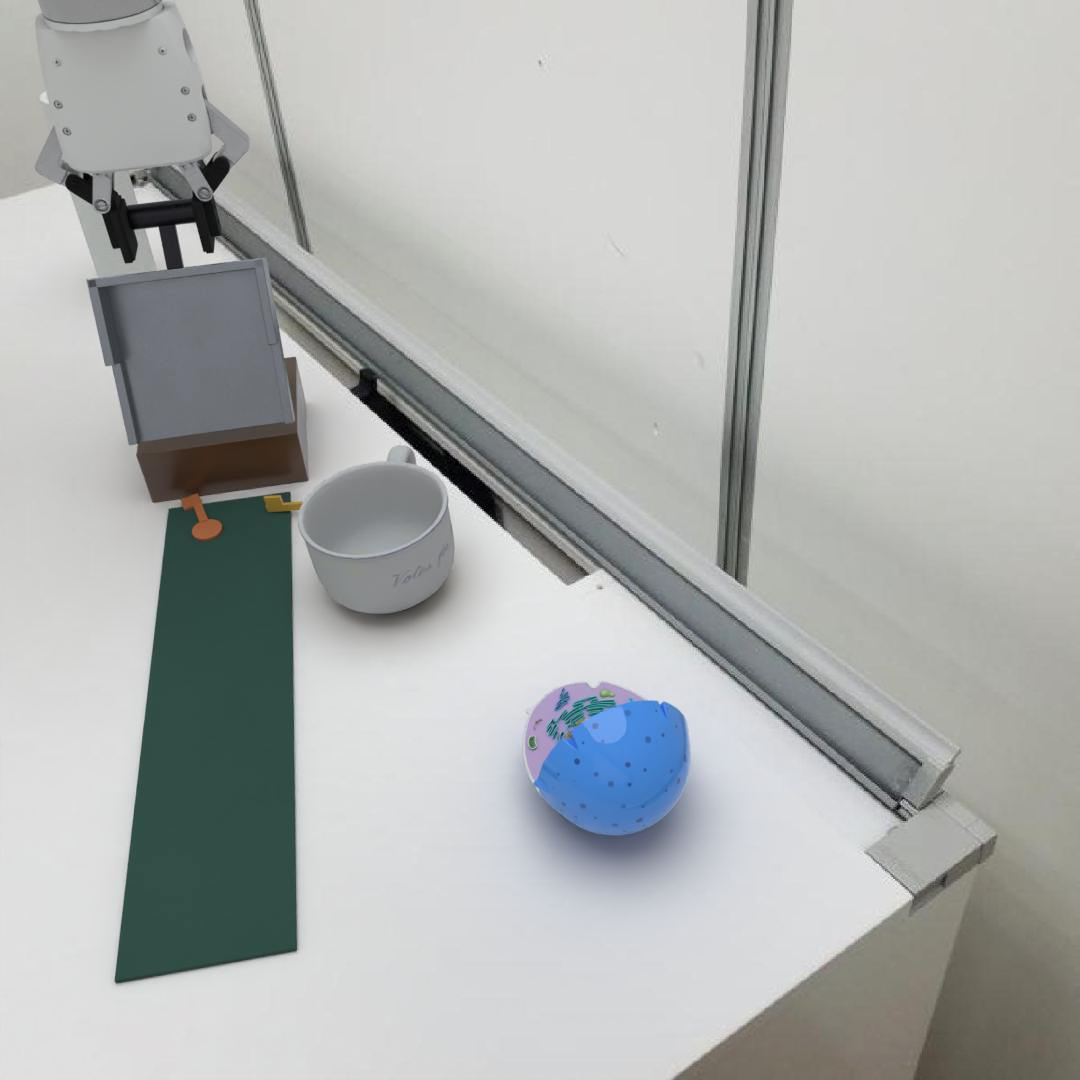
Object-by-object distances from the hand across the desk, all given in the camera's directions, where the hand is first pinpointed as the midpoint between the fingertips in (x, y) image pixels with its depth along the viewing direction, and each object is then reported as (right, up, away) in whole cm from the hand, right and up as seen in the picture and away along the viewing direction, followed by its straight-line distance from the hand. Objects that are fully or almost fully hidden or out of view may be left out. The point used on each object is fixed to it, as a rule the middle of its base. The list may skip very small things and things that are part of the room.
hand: (170, 247), depth 86 cm
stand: (+1, -14, +15) cm, 21 cm away
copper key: (0, -20, +8) cm, 21 cm away
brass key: (+8, -19, +8) cm, 22 cm away
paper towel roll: (-16, +6, +39) cm, 43 cm away
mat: (+5, -32, -6) cm, 33 cm away
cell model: (+31, -38, -14) cm, 51 cm away
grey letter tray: (0, -4, +5) cm, 7 cm away
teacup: (+17, -24, +3) cm, 30 cm away
